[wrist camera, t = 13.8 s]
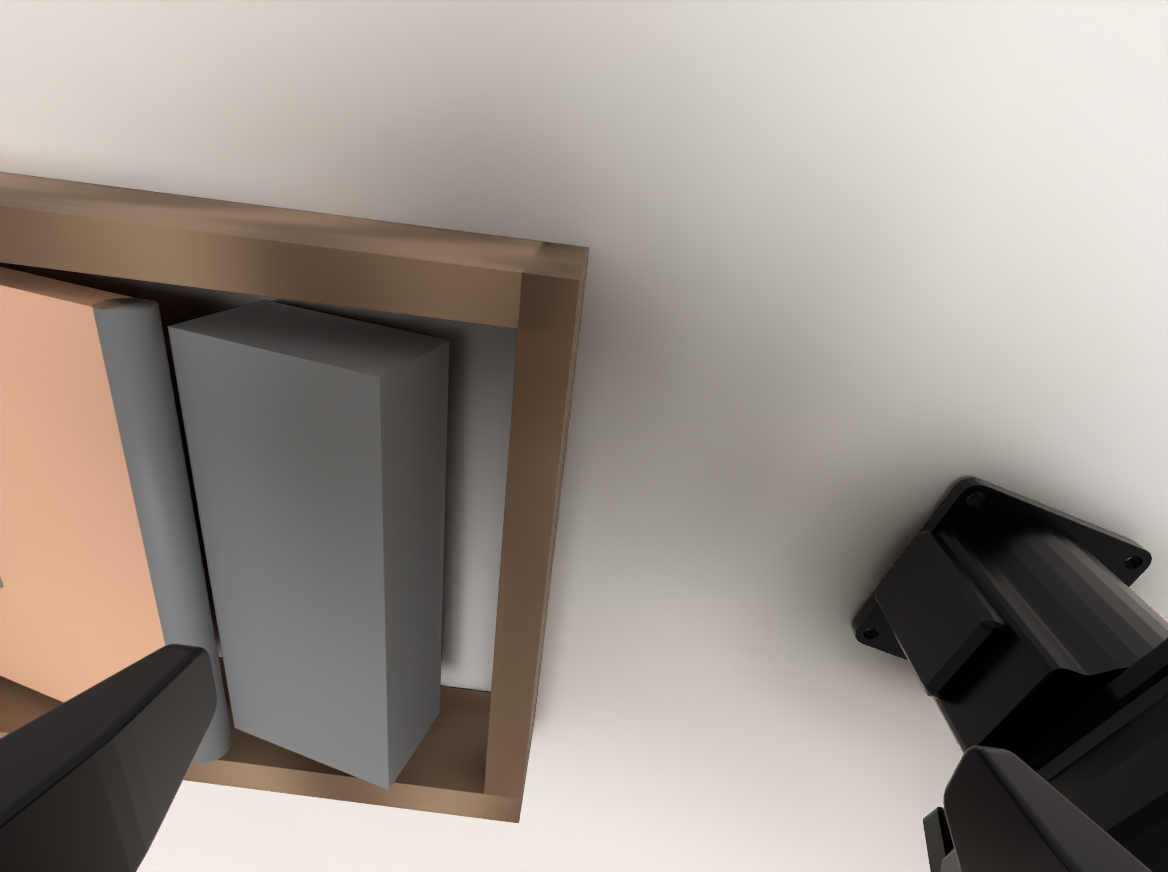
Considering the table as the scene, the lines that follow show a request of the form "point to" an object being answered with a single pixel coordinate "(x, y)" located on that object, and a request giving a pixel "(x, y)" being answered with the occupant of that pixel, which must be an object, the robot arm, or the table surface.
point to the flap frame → (383, 283)
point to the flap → (227, 512)
